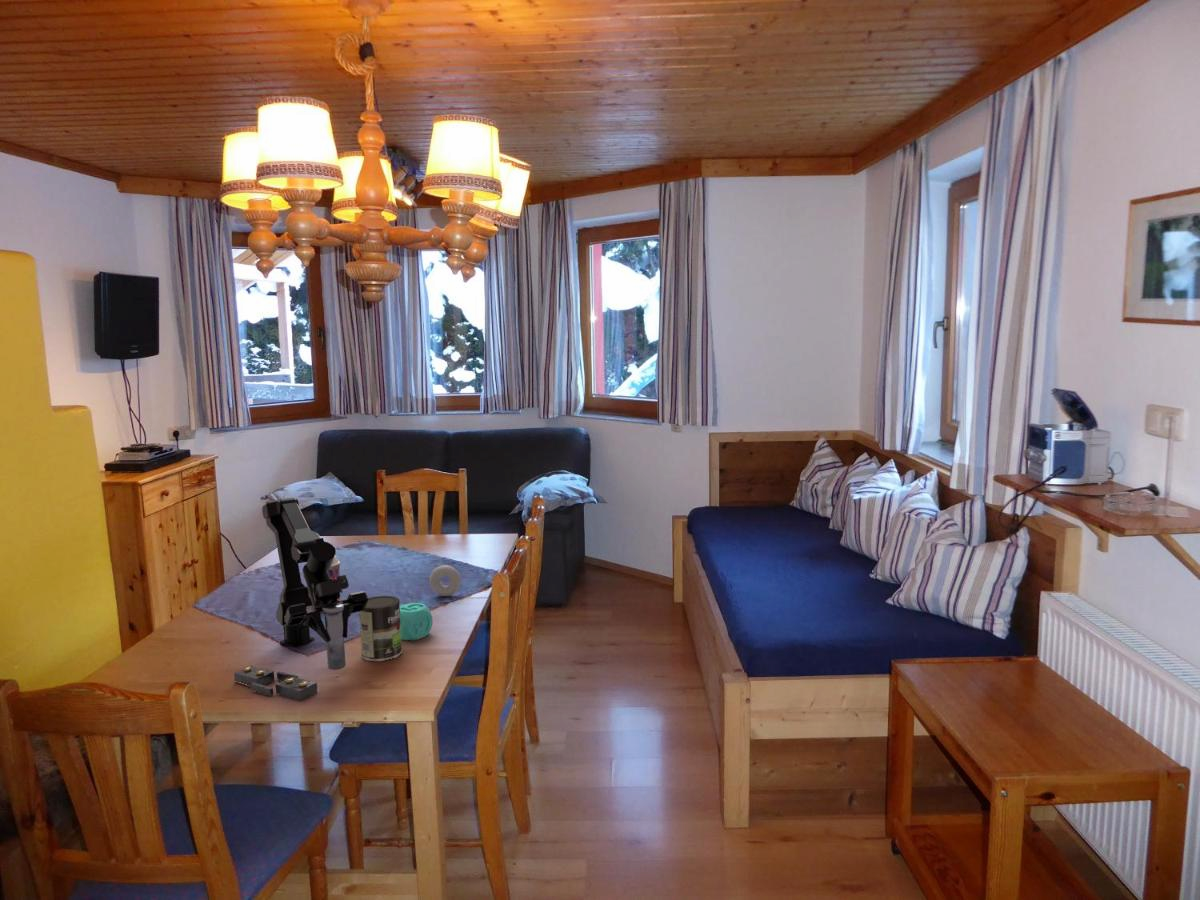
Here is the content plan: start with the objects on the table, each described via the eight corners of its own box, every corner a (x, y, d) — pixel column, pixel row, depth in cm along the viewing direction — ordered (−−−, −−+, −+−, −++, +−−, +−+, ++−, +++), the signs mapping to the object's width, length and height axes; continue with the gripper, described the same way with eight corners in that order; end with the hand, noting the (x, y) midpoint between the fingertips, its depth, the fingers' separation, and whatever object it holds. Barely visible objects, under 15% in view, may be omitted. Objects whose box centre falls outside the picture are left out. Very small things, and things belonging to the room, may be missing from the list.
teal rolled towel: (392, 636, 231) (390, 608, 230) (416, 628, 237) (415, 600, 236) (409, 643, 226) (407, 614, 225) (433, 634, 232) (432, 606, 231)
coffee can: (409, 647, 222) (406, 596, 220) (391, 663, 212) (388, 609, 210) (372, 645, 224) (369, 594, 222) (354, 660, 214) (350, 607, 212)
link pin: (321, 668, 200) (317, 608, 198) (337, 661, 204) (333, 602, 202) (336, 671, 198) (332, 611, 195) (351, 664, 202) (348, 605, 200)
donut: (463, 594, 266) (461, 564, 265) (459, 598, 263) (458, 567, 261) (432, 594, 267) (430, 563, 266) (428, 597, 264) (427, 566, 262)
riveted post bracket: (229, 684, 201) (228, 672, 201) (257, 672, 208) (256, 660, 208) (294, 703, 190) (293, 691, 190) (322, 690, 197) (321, 677, 197)
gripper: (284, 573, 195) (302, 632, 188) (363, 559, 206) (382, 614, 199) (277, 597, 203) (294, 655, 195) (354, 582, 213) (372, 636, 206)
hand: (336, 639), depth 199 cm, fingers closed on link pin, 4 cm apart
